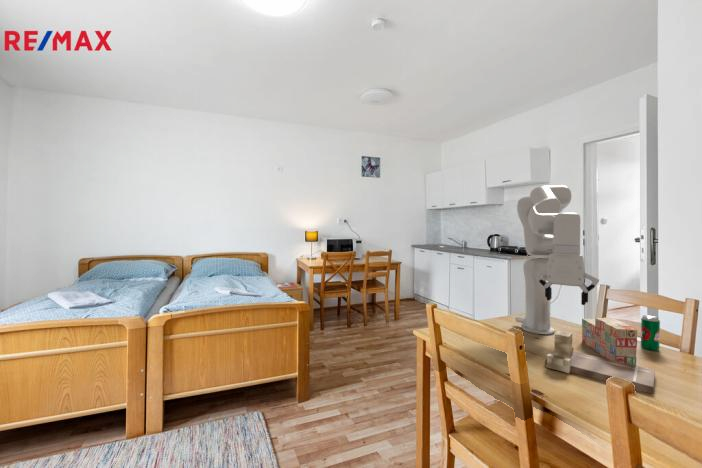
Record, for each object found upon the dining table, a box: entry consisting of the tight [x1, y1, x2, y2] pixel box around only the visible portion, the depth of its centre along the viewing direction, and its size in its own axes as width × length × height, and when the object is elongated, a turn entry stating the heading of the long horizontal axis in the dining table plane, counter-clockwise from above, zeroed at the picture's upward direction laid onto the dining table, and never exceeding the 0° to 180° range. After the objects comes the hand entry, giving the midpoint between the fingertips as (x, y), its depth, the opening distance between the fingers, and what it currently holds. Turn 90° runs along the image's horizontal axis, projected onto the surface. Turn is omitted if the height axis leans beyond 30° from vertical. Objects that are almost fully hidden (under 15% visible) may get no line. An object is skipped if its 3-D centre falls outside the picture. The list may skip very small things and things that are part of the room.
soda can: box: [640, 314, 661, 352], centre depth 118 cm, size 5×5×12 cm
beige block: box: [546, 330, 574, 374], centre depth 106 cm, size 6×15×10 cm, turn 135°
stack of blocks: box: [581, 317, 638, 366], centre depth 116 cm, size 21×6×12 cm, turn 170°
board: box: [545, 349, 656, 395], centre depth 102 cm, size 26×14×2 cm, turn 45°
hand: (565, 301), depth 106 cm, fingers open, 9 cm apart
